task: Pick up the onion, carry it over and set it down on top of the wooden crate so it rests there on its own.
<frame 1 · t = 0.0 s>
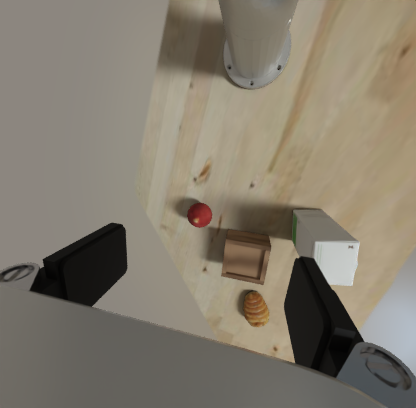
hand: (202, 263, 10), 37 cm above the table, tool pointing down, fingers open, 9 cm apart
wooden crate: (245, 249, 50), on the table
skincare box: (306, 225, 45), on the table
onion: (203, 210, 49), on the table
pastry: (254, 305, 54), on the table
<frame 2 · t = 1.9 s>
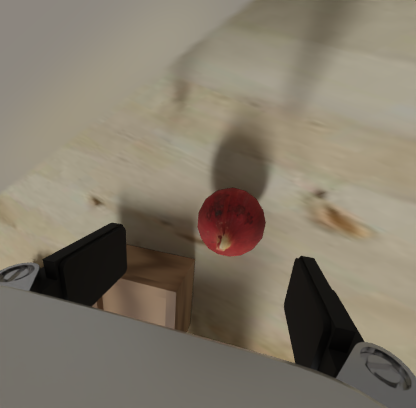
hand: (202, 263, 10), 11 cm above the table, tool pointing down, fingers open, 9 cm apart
wooden crate: (156, 284, 26), on the table
onion: (235, 208, 21), on the table
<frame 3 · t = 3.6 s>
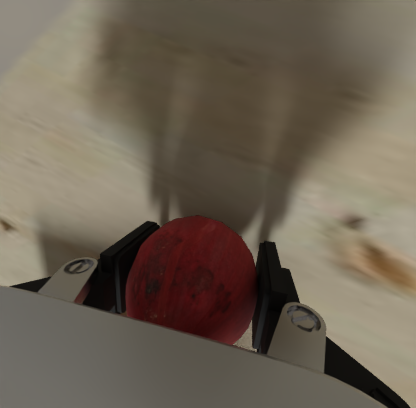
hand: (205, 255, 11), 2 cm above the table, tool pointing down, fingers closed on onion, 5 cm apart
onion: (210, 241, 13), on the table, touching gripper
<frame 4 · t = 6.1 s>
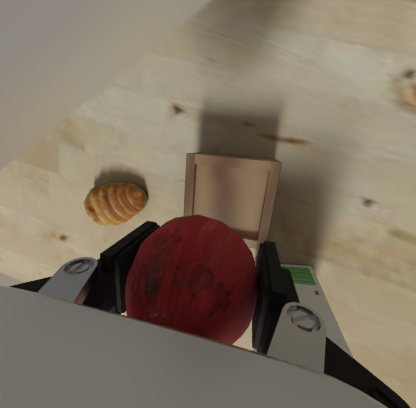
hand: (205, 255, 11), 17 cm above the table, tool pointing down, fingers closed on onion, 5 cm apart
wooden crate: (231, 192, 27), on the table
skincare box: (280, 281, 29), on the table
onion: (210, 240, 13), point 15 cm above the table, touching gripper
pastry: (120, 199, 32), on the table
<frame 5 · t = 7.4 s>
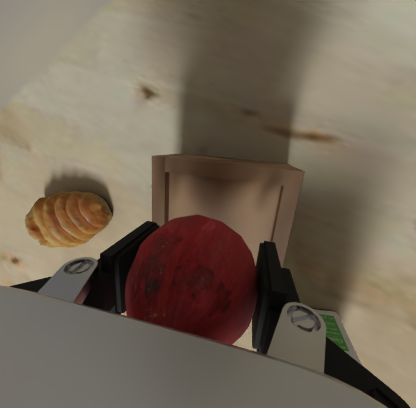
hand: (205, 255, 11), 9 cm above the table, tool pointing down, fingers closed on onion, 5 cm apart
wooden crate: (225, 209, 19), on the table
skincare box: (291, 327, 22), on the table
onion: (210, 240, 13), point 7 cm above the table, touching gripper
pastry: (79, 213, 24), on the table
when the fingers open (7 cm above the table, at t = 8.6 s): onion stays where it is, resting on wooden crate.
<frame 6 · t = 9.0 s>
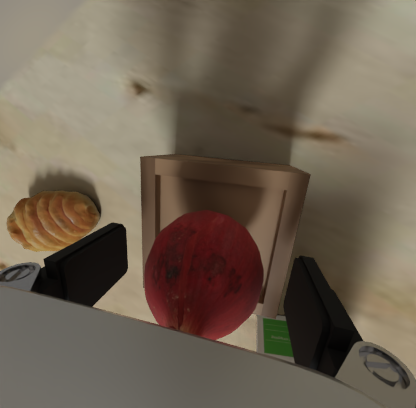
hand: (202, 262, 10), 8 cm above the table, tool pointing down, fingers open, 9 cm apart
wooden crate: (223, 213, 18), on the table
skincare box: (293, 339, 21), on the table
onion: (216, 234, 14), point 5 cm above the table, touching wooden crate
pastry: (66, 214, 23), on the table
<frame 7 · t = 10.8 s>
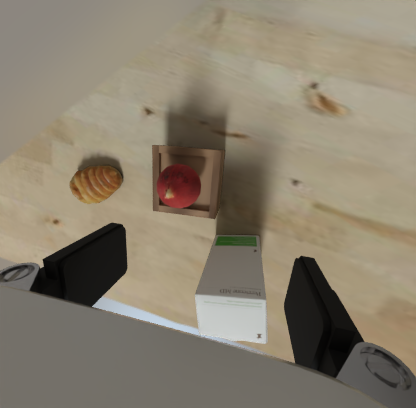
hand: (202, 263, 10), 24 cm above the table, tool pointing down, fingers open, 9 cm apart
wooden crate: (194, 177, 34), on the table
skincare box: (236, 249, 36), on the table
onion: (187, 181, 29), point 5 cm above the table, touching wooden crate
pastry: (101, 181, 38), on the table
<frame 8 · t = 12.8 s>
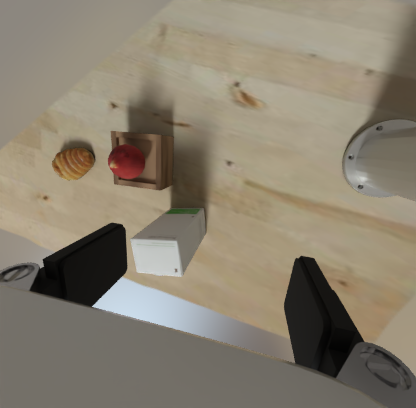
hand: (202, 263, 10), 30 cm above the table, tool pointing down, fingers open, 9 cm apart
wooden crate: (151, 159, 42), on the table
skincare box: (188, 221, 44), on the table
onion: (139, 160, 37), point 5 cm above the table, touching wooden crate
pastry: (78, 162, 46), on the table
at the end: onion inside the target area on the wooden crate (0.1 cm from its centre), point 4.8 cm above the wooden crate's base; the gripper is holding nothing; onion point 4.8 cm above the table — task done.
